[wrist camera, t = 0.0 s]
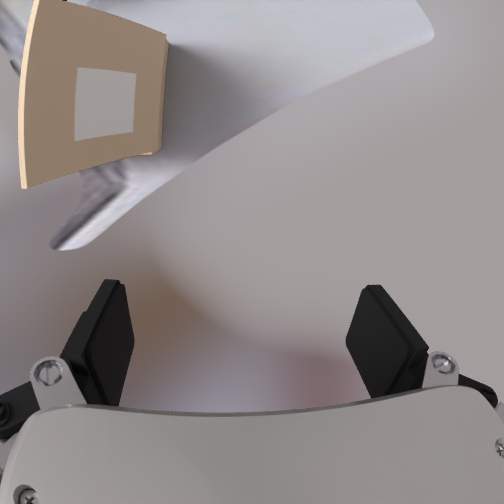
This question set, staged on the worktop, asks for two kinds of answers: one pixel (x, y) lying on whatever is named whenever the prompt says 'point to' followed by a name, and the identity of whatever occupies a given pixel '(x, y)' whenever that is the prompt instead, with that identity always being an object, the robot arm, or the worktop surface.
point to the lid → (86, 90)
